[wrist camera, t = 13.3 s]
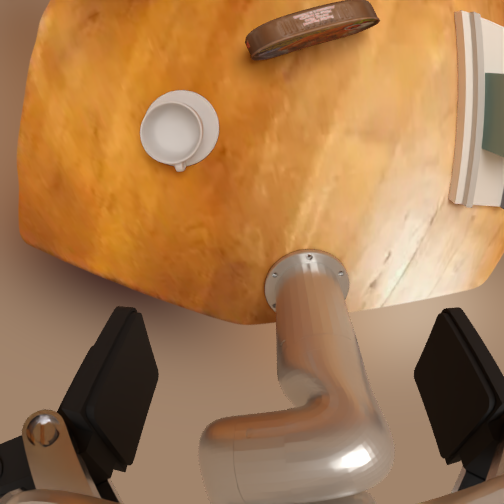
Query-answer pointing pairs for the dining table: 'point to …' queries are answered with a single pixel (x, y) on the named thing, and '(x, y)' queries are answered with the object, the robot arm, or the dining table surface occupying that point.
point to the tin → (310, 28)
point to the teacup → (179, 129)
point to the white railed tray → (476, 113)
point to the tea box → (494, 114)
